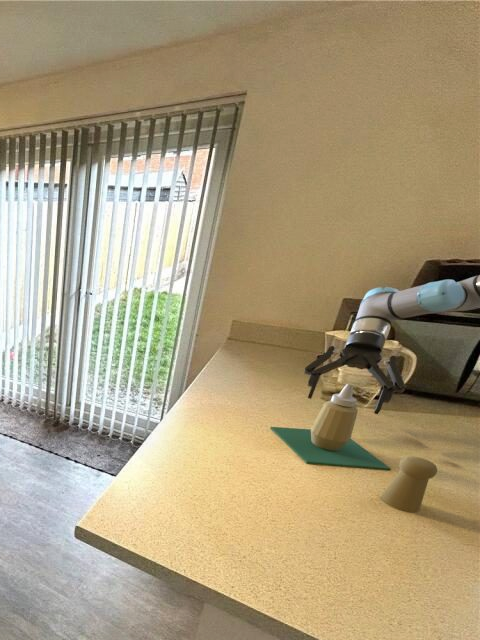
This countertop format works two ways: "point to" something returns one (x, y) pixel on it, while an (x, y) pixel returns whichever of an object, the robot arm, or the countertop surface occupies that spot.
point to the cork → (409, 484)
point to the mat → (328, 451)
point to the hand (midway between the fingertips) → (342, 403)
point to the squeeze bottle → (335, 421)
